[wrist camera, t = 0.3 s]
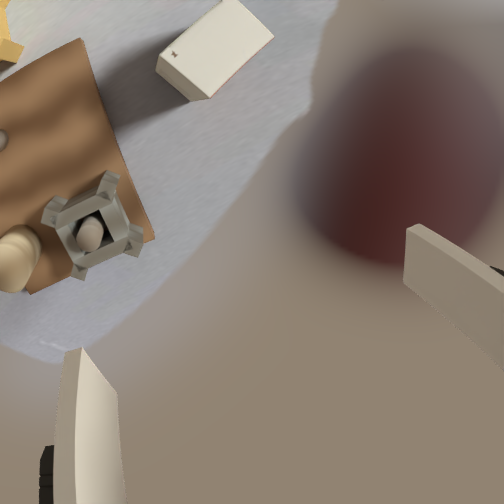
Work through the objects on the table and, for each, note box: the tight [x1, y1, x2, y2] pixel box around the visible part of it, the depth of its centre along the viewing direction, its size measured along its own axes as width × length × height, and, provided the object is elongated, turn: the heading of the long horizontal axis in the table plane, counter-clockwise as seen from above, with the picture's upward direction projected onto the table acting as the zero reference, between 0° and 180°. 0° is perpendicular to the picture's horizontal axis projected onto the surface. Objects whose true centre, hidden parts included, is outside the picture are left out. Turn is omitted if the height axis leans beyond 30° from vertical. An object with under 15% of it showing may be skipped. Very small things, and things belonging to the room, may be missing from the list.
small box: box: [155, 0, 275, 102], centre depth 25 cm, size 8×6×10 cm
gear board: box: [0, 38, 155, 295], centre depth 26 cm, size 24×18×8 cm
